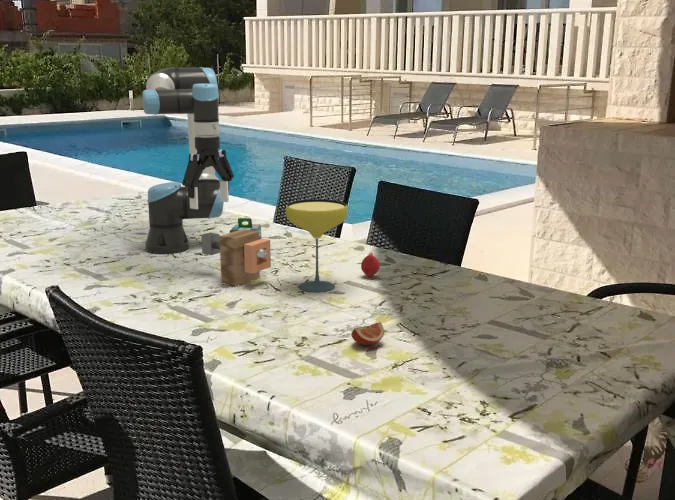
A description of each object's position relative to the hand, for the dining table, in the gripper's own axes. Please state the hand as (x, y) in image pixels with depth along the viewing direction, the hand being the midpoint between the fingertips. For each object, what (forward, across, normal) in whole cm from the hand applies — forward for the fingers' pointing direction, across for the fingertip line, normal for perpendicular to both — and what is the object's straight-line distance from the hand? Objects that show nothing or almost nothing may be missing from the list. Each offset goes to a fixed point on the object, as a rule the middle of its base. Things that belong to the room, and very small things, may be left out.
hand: (209, 205), depth 234 cm
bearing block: (+22, 0, -12) cm, 25 cm away
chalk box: (+23, +19, +2) cm, 30 cm away
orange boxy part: (+13, 0, -19) cm, 23 cm away
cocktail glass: (+23, +8, -35) cm, 42 cm away
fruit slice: (+23, -23, -72) cm, 79 cm away
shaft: (+15, 0, -10) cm, 18 cm away
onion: (+22, +26, -43) cm, 55 cm away
